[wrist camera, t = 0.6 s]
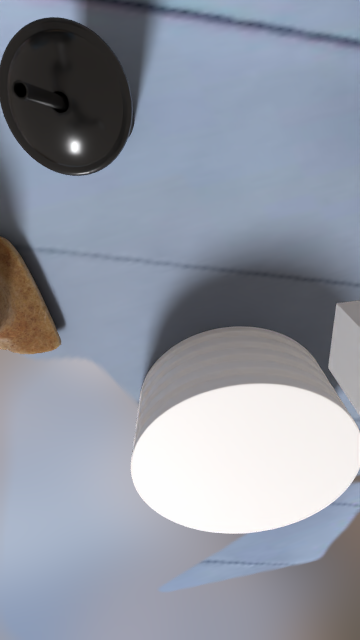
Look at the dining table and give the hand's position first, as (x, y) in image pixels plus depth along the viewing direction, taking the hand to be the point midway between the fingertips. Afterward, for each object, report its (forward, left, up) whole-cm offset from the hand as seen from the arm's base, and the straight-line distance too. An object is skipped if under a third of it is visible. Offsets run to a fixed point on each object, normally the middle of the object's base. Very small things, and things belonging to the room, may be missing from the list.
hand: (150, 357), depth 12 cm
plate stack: (+30, +5, -27) cm, 41 cm away
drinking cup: (-9, -4, -27) cm, 29 cm away
